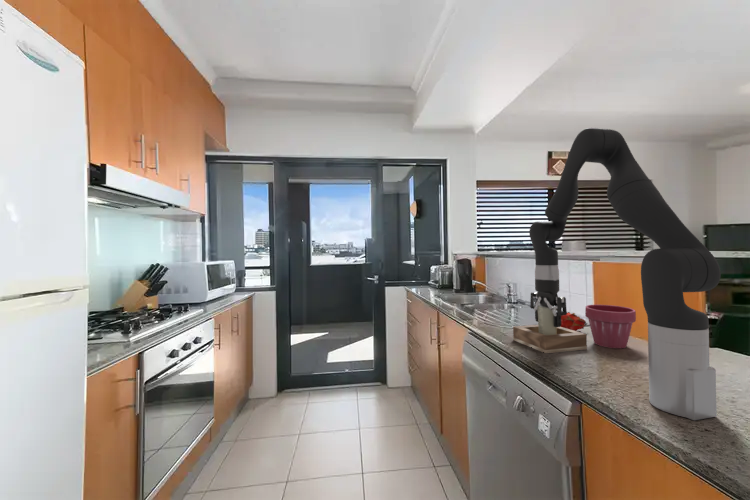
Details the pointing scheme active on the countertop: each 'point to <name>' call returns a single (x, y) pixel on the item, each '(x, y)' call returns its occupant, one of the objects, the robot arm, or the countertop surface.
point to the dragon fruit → (572, 322)
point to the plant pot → (610, 324)
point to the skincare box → (546, 321)
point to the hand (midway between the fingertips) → (547, 324)
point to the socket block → (550, 339)
